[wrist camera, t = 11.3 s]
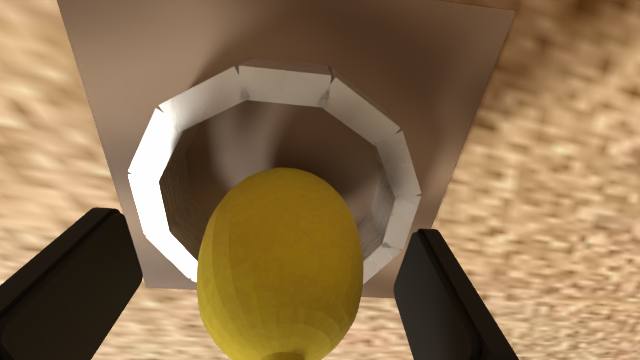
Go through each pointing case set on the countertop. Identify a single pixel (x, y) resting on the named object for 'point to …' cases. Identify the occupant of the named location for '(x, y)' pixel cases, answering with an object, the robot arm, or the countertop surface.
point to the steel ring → (278, 87)
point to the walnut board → (277, 118)
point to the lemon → (280, 268)
